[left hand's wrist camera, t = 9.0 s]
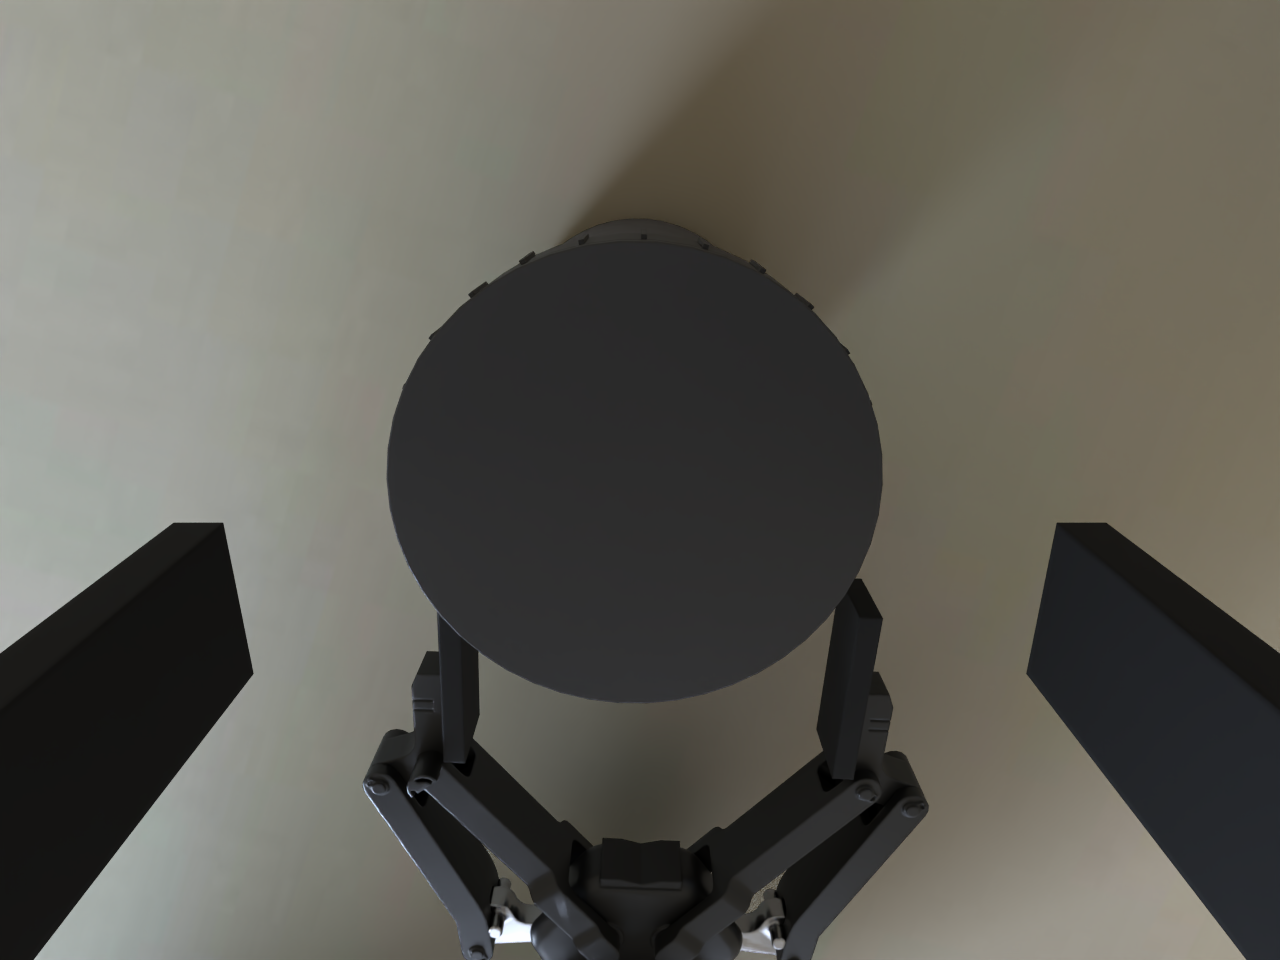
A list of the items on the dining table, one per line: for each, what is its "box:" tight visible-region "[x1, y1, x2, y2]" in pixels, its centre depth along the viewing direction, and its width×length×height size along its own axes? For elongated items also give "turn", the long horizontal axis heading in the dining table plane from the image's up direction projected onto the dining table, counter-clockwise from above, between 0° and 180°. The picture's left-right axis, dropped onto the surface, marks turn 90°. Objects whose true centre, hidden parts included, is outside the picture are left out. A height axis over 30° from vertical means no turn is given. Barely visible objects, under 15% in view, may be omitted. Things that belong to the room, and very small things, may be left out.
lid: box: [387, 229, 882, 703], centre depth 17 cm, size 10×10×2 cm
